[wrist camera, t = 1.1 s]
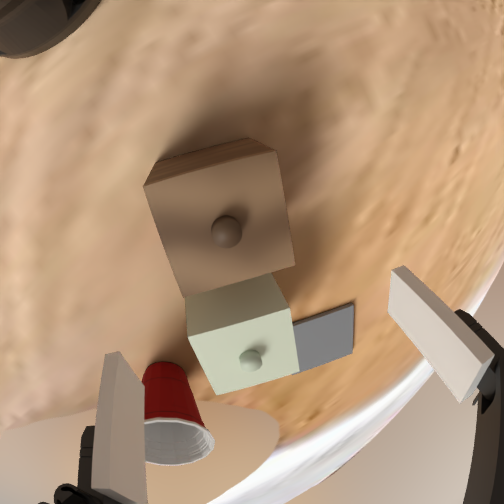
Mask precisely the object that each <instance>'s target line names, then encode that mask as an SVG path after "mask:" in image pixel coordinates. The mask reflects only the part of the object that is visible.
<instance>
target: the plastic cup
mask: <svg viewBox="0 0 504 504" xmlns="http://www.w3.org/2000/svg"><path fill="white" fill-rule="evenodd" d="M142 384H143V385H144V386H145V394H144V441H145V462H148V463H152V464H157V465H169V466H177V465H183V464H189V463H193V462H196V461H198V460H200V459H202V458H205V457H206V456H207V455H208V454H209V453H210V452H211V451H212V450H213V449H214V444H215V440H214V438H213V436H212V435H211V433H210V432H209V430H208V429H206V427H205V426H204V423H203V422H202V420H201V417H200V414H199V411H198V408H197V405H196V402H195V399H194V396H193V393H192V391H191V389H190V386H189V383H188V379H187V376H186V375H185V372H184V371H183V369H182V368H181V367H179V366H178V365H176V364H173V363H170V362H158V363H154V364H152V365H150V366H149V367H148V368H147V369H146V371H145V373H144V375H143V379H142Z"/></svg>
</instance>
